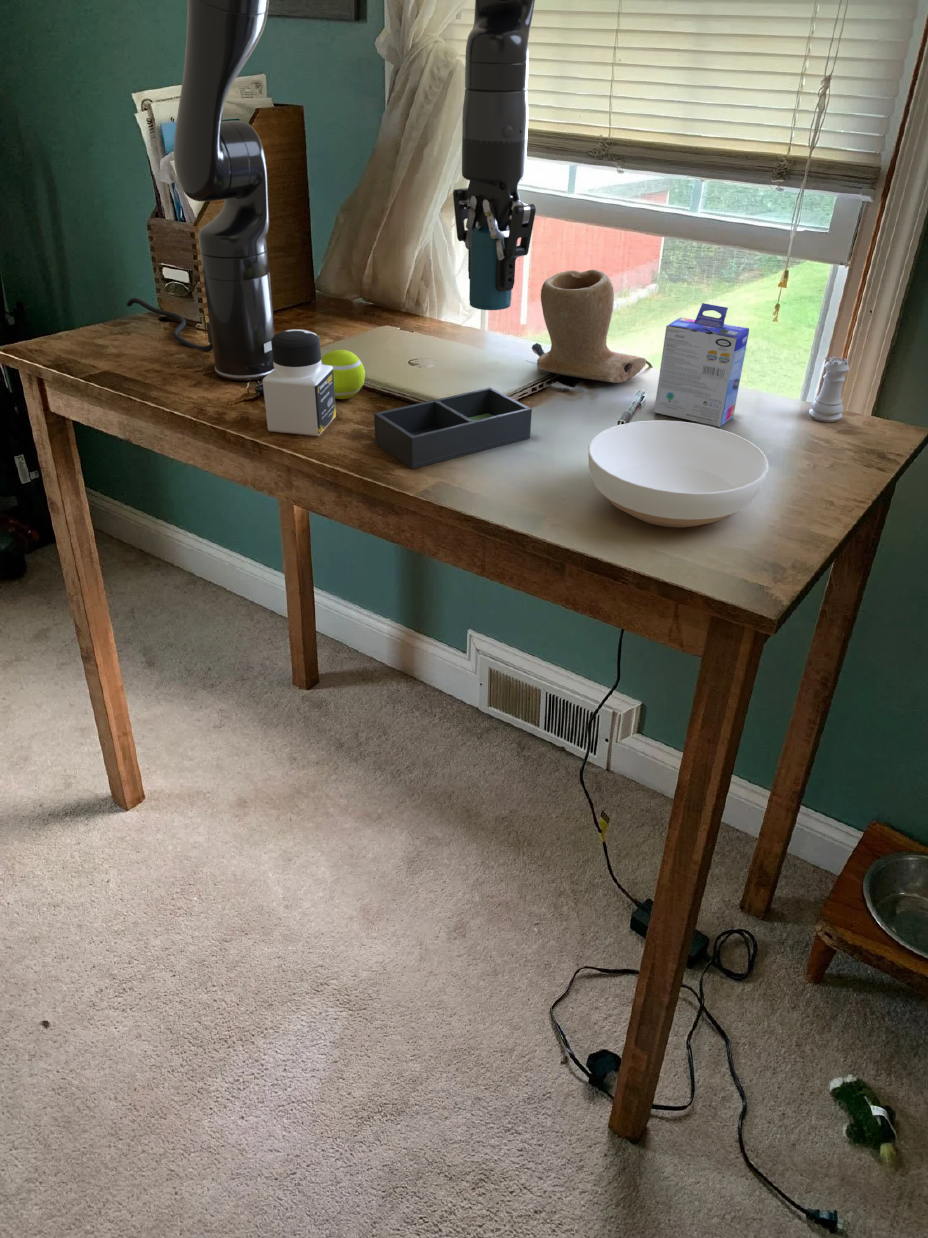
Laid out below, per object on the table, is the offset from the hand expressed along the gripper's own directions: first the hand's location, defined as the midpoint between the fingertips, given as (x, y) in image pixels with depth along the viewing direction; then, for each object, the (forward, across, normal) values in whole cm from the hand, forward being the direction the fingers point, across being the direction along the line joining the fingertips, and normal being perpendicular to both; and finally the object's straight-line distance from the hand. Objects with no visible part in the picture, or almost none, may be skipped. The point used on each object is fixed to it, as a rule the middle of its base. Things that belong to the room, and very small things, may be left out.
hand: (490, 284), depth 118 cm
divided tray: (+18, -4, +8) cm, 20 cm away
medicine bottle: (+18, +11, +22) cm, 30 cm away
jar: (+2, 0, 0) cm, 2 cm away
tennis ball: (+18, +17, +13) cm, 28 cm away
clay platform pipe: (+18, +6, -22) cm, 29 cm away
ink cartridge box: (+18, -15, -25) cm, 34 cm away
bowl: (+18, -32, -2) cm, 37 cm away
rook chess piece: (+18, -25, -40) cm, 50 cm away
